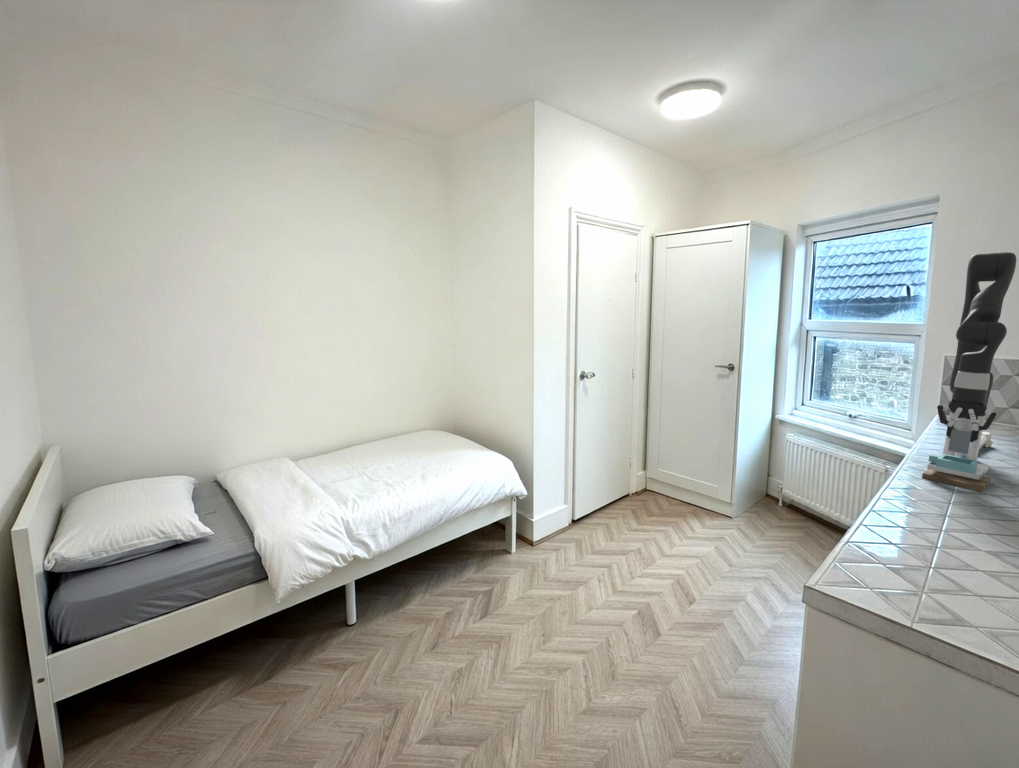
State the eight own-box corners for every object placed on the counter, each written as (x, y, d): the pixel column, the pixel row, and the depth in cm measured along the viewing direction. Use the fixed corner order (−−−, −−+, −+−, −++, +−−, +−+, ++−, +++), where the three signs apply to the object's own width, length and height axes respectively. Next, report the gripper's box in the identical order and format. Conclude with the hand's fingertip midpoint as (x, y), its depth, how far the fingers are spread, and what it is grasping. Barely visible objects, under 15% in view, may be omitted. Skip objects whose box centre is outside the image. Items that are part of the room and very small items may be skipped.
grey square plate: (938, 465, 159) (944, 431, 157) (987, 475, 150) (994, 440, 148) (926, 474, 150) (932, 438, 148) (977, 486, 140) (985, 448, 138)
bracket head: (932, 459, 155) (933, 452, 154) (976, 468, 146) (977, 460, 146) (925, 463, 150) (926, 456, 149) (970, 473, 141) (972, 465, 141)
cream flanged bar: (959, 444, 178) (978, 427, 191) (957, 460, 180) (976, 442, 193) (978, 447, 174) (996, 430, 187) (976, 463, 176) (994, 445, 189)
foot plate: (932, 469, 159) (933, 465, 159) (990, 481, 148) (991, 477, 148) (921, 477, 151) (922, 473, 151) (981, 491, 140) (982, 486, 140)
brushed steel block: (950, 448, 149) (954, 427, 148) (970, 452, 145) (974, 430, 144) (948, 450, 147) (951, 429, 145) (967, 454, 143) (971, 432, 142)
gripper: (1006, 389, 139) (995, 443, 142) (943, 382, 151) (934, 433, 153) (1002, 391, 135) (991, 447, 138) (937, 384, 146) (928, 436, 149)
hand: (961, 439), depth 145 cm, fingers closed on brushed steel block, 4 cm apart
